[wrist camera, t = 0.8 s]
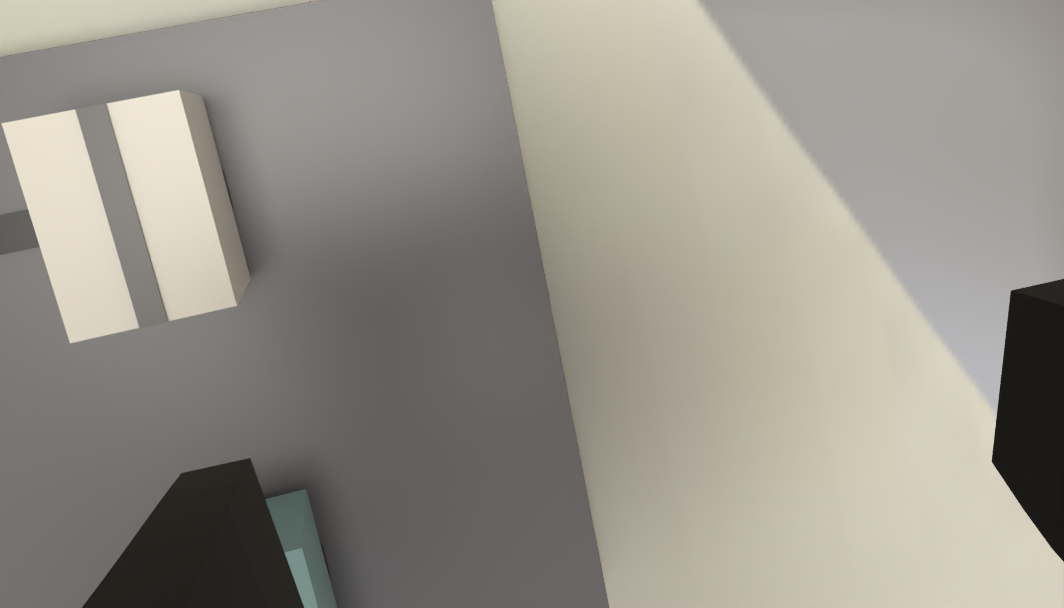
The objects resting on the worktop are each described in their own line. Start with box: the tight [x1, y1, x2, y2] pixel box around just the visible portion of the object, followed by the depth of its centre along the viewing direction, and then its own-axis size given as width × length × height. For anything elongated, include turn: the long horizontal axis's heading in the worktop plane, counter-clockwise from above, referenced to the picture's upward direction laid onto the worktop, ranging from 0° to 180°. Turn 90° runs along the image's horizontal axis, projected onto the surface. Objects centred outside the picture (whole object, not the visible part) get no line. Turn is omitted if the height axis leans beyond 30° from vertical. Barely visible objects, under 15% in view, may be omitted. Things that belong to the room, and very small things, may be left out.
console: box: [0, 0, 609, 608], centre depth 22 cm, size 16×24×2 cm, turn 101°
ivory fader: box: [1, 90, 251, 343], centre depth 19 cm, size 4×3×3 cm
